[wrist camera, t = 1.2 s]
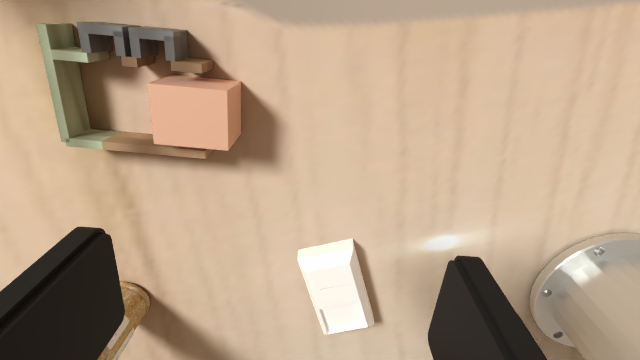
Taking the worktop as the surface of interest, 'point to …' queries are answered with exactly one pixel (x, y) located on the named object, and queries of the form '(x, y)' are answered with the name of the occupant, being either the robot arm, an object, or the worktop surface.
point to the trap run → (135, 52)
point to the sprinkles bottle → (127, 319)
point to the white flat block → (336, 286)
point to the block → (195, 111)
